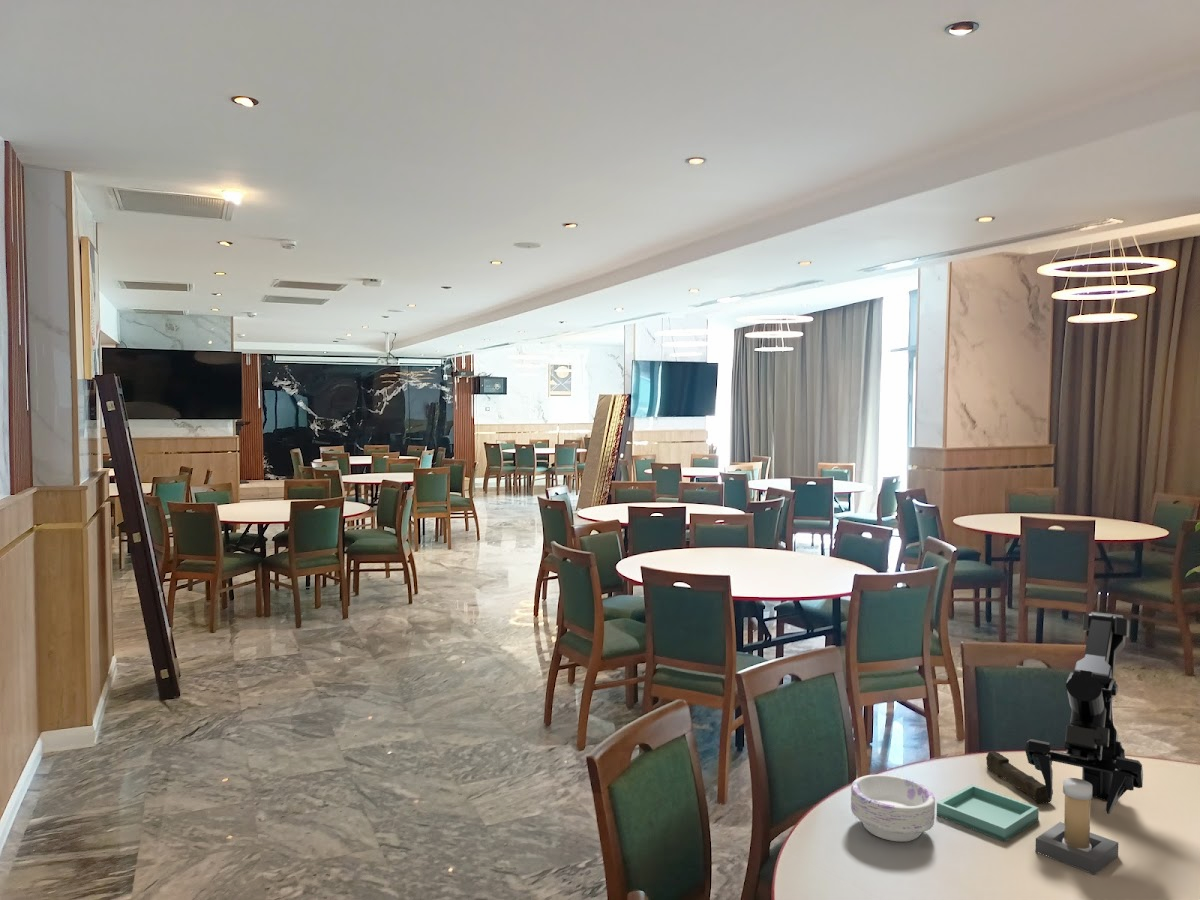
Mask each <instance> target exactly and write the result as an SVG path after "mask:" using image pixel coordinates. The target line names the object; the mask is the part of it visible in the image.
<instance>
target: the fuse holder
mask: <svg viewBox="0 0 1200 900" xmlns="http://www.w3.org/2000/svg"><path fill="white" fill-rule="evenodd" d="M1063 838H1064V822H1062V821H1059V822H1057V823H1056V824H1055V825H1053V826H1052V827H1050V828H1049V829H1047V830H1046V831H1044V832H1043V833H1041V834H1039V835H1038V836H1037V837H1035V853H1038V852H1039V854H1040V853H1041V854H1040V855H1043V854H1044V855H1043V856H1045V855H1047V856H1046V857H1048V856H1049V857H1048V858H1050V857H1051V858H1050V859H1054V860H1055V859H1056V861H1059V862H1061V863H1064V864H1066V865H1068V866H1071V867H1074V868H1076V869H1079V870H1082V871H1083V872H1087V873H1089V874H1092V875H1093V876H1094V875H1097V874H1098V873H1099V872H1100V871H1102V870H1103V869H1105V867H1107V866H1108V865H1109V864H1110V863H1111V862H1114V860H1115V859H1116V858H1118V857H1119V842H1118V841H1117V840H1112V839H1109V838H1106V837H1104V836H1102V835H1099V834H1096V833H1092V832H1090V844H1091V846H1092V848H1091V850H1090V851H1089V852H1086V851H1083V850H1080V849H1077V848H1075V847H1072V846H1069V845H1067V844H1064V843H1062V839H1063Z"/></svg>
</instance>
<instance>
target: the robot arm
mask: <svg viewBox="0 0 1200 900" xmlns="http://www.w3.org/2000/svg"><path fill="white" fill-rule="evenodd" d="M1082 618H1083V619H1082V632H1084V633H1086V637H1087V639H1086V645H1085V650H1084V655H1083V658H1081V659H1079V660H1077V661H1076V662H1075V665H1074V669H1073V671H1071V672H1069V675H1068V677H1067V680H1066V684H1065V689H1066V691H1067V697H1068V701H1069V702H1068V703H1069V706H1070V708H1071V714H1070V720H1069V721H1070V722H1069V724H1066V725H1065V737H1064V738H1065V739H1064V749H1065V750H1066V751H1065V752H1062V751H1058V750H1053V749H1052V745H1051V742H1048V741H1042V740H1038V739H1032V738H1030V739H1029V740H1027V741H1026V742H1025V743H1026V744H1025V749H1024V751H1025V754H1026V755H1025V756H1026V758H1027V763H1028V764H1030V765H1031V766H1034V768H1035V770H1037V771H1040V772H1041V774H1042V777H1043V780H1044V785H1046V790H1047V795H1048V800H1051V798H1053V794H1052V789H1053V777H1054V776H1053V767H1052V765H1053V762H1056V763H1060V764H1065V765H1070V766H1076V767H1079V768H1081V769H1082V771H1081V773H1082V774H1081V775H1082V776H1081V777H1082V778H1081V779H1082V780H1085V781H1087V782H1089V783H1091V784H1092V798H1096V799H1098V800H1099V799H1100V800H1102V801H1106V806H1105V807H1106V808H1105V813H1106V815H1110V813H1111V811H1112V810H1113V808H1114V807H1115V805H1116V804H1117V802H1118V801H1119V800H1120V798H1121V797H1123V795H1124V794H1125V793H1126V792H1127V791H1134V788H1137V789H1141V788H1142V789H1143V785H1144V784H1143V783H1144V771H1143V764H1142V762H1140V760H1137V759H1132V758H1128V757H1126V752H1125V750H1126V749H1124V748H1123V745H1122V742H1121V741H1119V735H1118V732H1117V731H1118V730H1117V729H1116V727H1115V726H1114V723H1113V722H1112V712H1113V711H1112V709H1113V698H1114V697H1115V696H1117V695H1118V692H1119V685H1118V684H1117V681H1116V678H1115V666H1116V656H1117V655H1118V654H1119V653H1120V652H1121V651H1122V650H1123V649H1124V648H1125V646H1126V638H1130V637H1129V635H1130V621H1129V619H1126V618H1124V616H1123V614H1113V613H1108V612H1107V613H1105V612H1099V611H1098V612H1097V611H1091V612H1090V613H1088V614H1084V613H1083V617H1082ZM1051 801H1052V800H1051Z"/></svg>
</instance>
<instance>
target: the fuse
mask: <svg viewBox="0 0 1200 900" xmlns="http://www.w3.org/2000/svg"><path fill="white" fill-rule="evenodd" d="M1062 793H1063V794H1064V822H1063V823H1064V838H1063V839H1062V843H1064V844H1067V845H1069V846H1072V847H1075V848H1077V849H1080V850H1083V851H1086V852H1089V851H1090V850H1091V848H1092V846H1091V844H1090V833H1091V829H1090V828H1091V799H1093V796H1092V784H1091V783H1089V782H1087V781H1085V780H1082V778H1077V777H1076V778H1075V777H1066V778H1064V779H1063V780H1062Z"/></svg>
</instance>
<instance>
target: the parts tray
mask: <svg viewBox="0 0 1200 900" xmlns="http://www.w3.org/2000/svg"><path fill="white" fill-rule="evenodd" d="M1039 809H1040V807H1037V806H1035V805H1032V804H1029V803H1026V802H1023V801H1020V800H1018V799H1015V798H1012V797H1008V796H1006V795H1003V794H1001V793H997V792H994V791H992V790H989V789H986V788H983V787H980V786H978V785H974V784H970V785H969V784H968V786H966V787H964V788H962V789H960V790H958V791H957V792H954V793H953V794H951V795H949V796H947V797H946V798H944V799H942V800H940V801H938V802H936V816H938V817H940V818H943V819H944V820H948V821H950V822H953V823H956V824H958V825H960V826H963V827H966V828H968V829H971V830H974V831H976V832H978V833H981V834H984V835H986V836H989V837H991V838H993V839H996V840H999V841H1001V842H1004V843H1005V842H1007V841H1008V840H1010V839H1013V837H1015V836H1016V835H1018V834H1020V833H1021V832H1023V831H1024V830H1025V829H1027V828H1028V827H1031V825H1033V824H1035V823H1037V822H1038V821H1039V813H1040V812H1039ZM1037 820H1038V821H1037Z"/></svg>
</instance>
